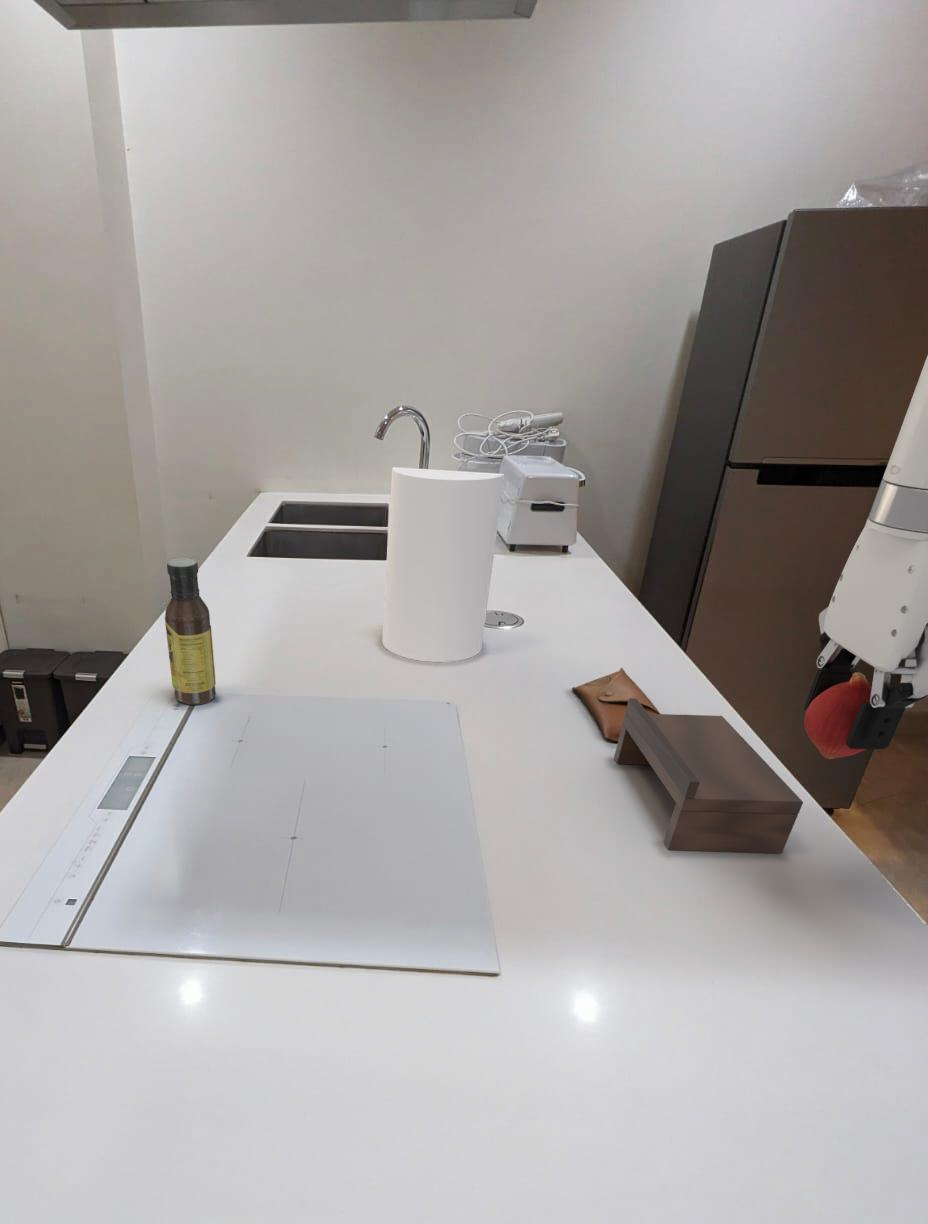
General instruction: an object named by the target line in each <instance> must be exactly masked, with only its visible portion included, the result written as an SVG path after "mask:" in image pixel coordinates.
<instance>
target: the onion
mask: <svg viewBox="0 0 928 1224" xmlns="http://www.w3.org/2000/svg"><path fill="white" fill-rule="evenodd" d="M871 689H872V684H871V683H870V682H869V681H868V679H867V678H866V675H865V674H863V673H862V672H859V671H857V672H855V673H853V674H852V677H851V679H850V681H848V682H844V683H840V684H837V685H835V686H832V687H830V688H829V689H827V690H825V691H824V692H822V693H821V694H820V695H818V696H817V697H816V698H815V699H814V700H813V701H812V702H811V704H810V705H809V707H808V709H807V711H805V716H804V722H803V724H804V731H805V733H806V734H807V737H808V738H809V740H810V741H811V742H812V743H813V745H814V746H815V747H816V748H817V750H818V751H819V753H820V755H821V756H822V757H824V758H826V759H828V760H834V759H835V760H836V759H840V758H845V757H851V756H854V755H857V754H859V753H862V752H864V751H865V750H867V749H851V748H849V747H848V746H847V745H846V740H847V738H848V736H849V733H850V731H851V728H852V726H853V723H854V721H855V719H856V716H857V714H858V711H859V709H860V707H861V705H862V702H870V696H871Z"/></svg>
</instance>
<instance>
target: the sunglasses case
mask: <svg viewBox="0 0 928 1224" xmlns="http://www.w3.org/2000/svg"><path fill="white" fill-rule="evenodd" d="M571 691H573V692H574V693H575V694H576V695H577V696H578V697H579V699H580V700H581V701H582V702H583V704H584V706H585V707H586V708H587V710H588V711H589V713H590V714H591V716H592V718H593V720H594V721H595V723H596V725H597V726H598V728H599V729H600V731H601V733H602V735H603V736H604V738H605V739H606V740H609V741H612V742H617V743H618V740H619V736H620V732H621V728H622V724H623V720H624V716H625V712H626V708H627V704H628V700H629V698H631V699H637V700H638V701H639V702H640V704H641V705H642V706H643V708H644V709H645V710H646V712H647V713H648V714H661V713H660V711H659V710H658V709H657V707H656V706H655V704H654V703H653V702H652V701H651V700H650V698H649V697H648V696H647V694H645V693H644V691H643V690H642V689H641V688H640V687H639V686H638V685H637V684H636V682H635V681H634V680H633V679H632V678H631V677H630V676H629V675H628V674H627V673H626V671H625V670H624V668H622V667H620V668H619V670H618V671H615V672H612V673H609V674H606V675H604V676H601V677H599V678H596V679H593V680H591V681H588V682H586V683H583V684H581V685H577V686H572V687H571Z"/></svg>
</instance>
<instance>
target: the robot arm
mask: <svg viewBox="0 0 928 1224" xmlns="http://www.w3.org/2000/svg"><path fill="white" fill-rule="evenodd" d="M840 574H841V575H840V577H839V579H838V581H837V583H836V585H835V589H834V590H833V593H832V596H831V598H830V601H829V605H828V606H827V607H825V608H824V609H823V610H822V611H821V612H820V613H819V615H818V623H819V624H818V625H819V630H820V637H819V638H818V639H819V646H820V653H819V655H818V657H817V659H816V667H817V668H818V669H817V672H816V674H815V676H814V679H813V681H812V685H811V688H810V690H809V692H808V696H807V698H806V701H805V703H804V707H803V710H804V711H805V712H806V711H807V709H808V707H809V705H810V704H811V702H812V701H813V700H814V699H815V698H816V697H817V696H818V695H820V694H821V693H822V692H824V691H825V690H827V689H829V688H830V687H832V686H835V685H837V684H840V683H844V682H848V681H850V679H851V677H852V674H853V673H855V672H858V671H857V670H856V669H854V668H855V667H856V665H858V663H859V661H860V660H861V661H863V662H865V663H866V664H867V665H869V666H871V667H872V668H873V676H872V684H871V686H872V689H871V696H870V702H862V705H861V707H860V709H859V711H858V714H857V716H856V719H855V721H854V723H853V726H852V728H851V731H850V733H849V736H848V738H847V740H846V745H847V746H848V747H849V748H851V749H866V750H885V749H887V748H888V747H889V746H890V744H891V741H892V739H893V738H894V734H895V733H896V730H897V728H898V726H899V723H900V721H901V720H902V717H903V714H904V713H905V710H906V709H911V708H913V707H914V706H915V704H916V703H917V702H919V701H922V700H924V699H926V698H927V697H928V355H926V359H925V361H924V363H923V366H922V369H921V372H920V375H919V378H918V381H917V383H916V386H915V389H914V391H913V394H912V397H911V400H910V402H909V406H908V407H907V411H906V413H905V416H904V419H903V422H902V423H901V427H900V430H899V433H898V436H897V438H896V440H895V443H894V446H893V449H892V452H891V454H890V457H889V460H888V463H887V466H886V467H885V471H884V474H883V477H882V479H881V481H880V484H879V487H878V490H877V492H876V495H875V497H874V500H873V503H872V506H871V508H870V511H869V514H868V517H867V518H866V522H865V524H864V527H863V529H862V531H861V533H860V535H859V536H858V538H857V540H856V542H855V544H854V546H853V548H852V549H851V552H850V554H849V556H848V558H847V560H846V563H845V565H844V566H843V569H842V572H841V573H840ZM902 660H905V662H904V666H899V665H900V663H901V661H902ZM897 675H898V676H900V677H901V678H900V683H897V684H895V685H894V686H892V687H890V684H891V677H892V676H897Z"/></svg>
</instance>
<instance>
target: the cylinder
mask: <svg viewBox="0 0 928 1224" xmlns="http://www.w3.org/2000/svg"><path fill="white" fill-rule="evenodd" d="M505 475H506V474H505V473H497V472H481V471H480V472H479V471H463V470H449V469H448V470H447V469H432V468H431V469H430V468H414V467H400V466H399V467H398V466H393V467H392V469H391V479H390V480H391V481H390V482H391V484H390V500H389V517H388V536H387V552H386V566H385V567H386V570H385V585H384V587H385V588H384V601H383V602H384V604H383V621H382V623H383V624H382V638H381V639H382V640H381V643H382V645H383V647H384V648H385V649H386V650H387V651H389V652H390V653H392V654H394V655H396V656H398V657H401V658H405V659H409V660H414V661H419V662H427V663H428V662H429V663H452V662H459V661H464V660H467V659H470V658H473V657H475V656H477V655H478V654H479V653H480V652H481V651H482V649H483V641H484V634H485V626H486V625H485V624H486V618H487V612H488V611H487V610H488V604H489V597H490V595H489V594H490V587H491V580H492V572H493V564H494V559H495V558H494V557H495V549H496V542H497V535H498V528H499V527H498V526H499V519H500V513H501V505H502V499H503V498H502V497H503V489H504V482H505Z"/></svg>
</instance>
